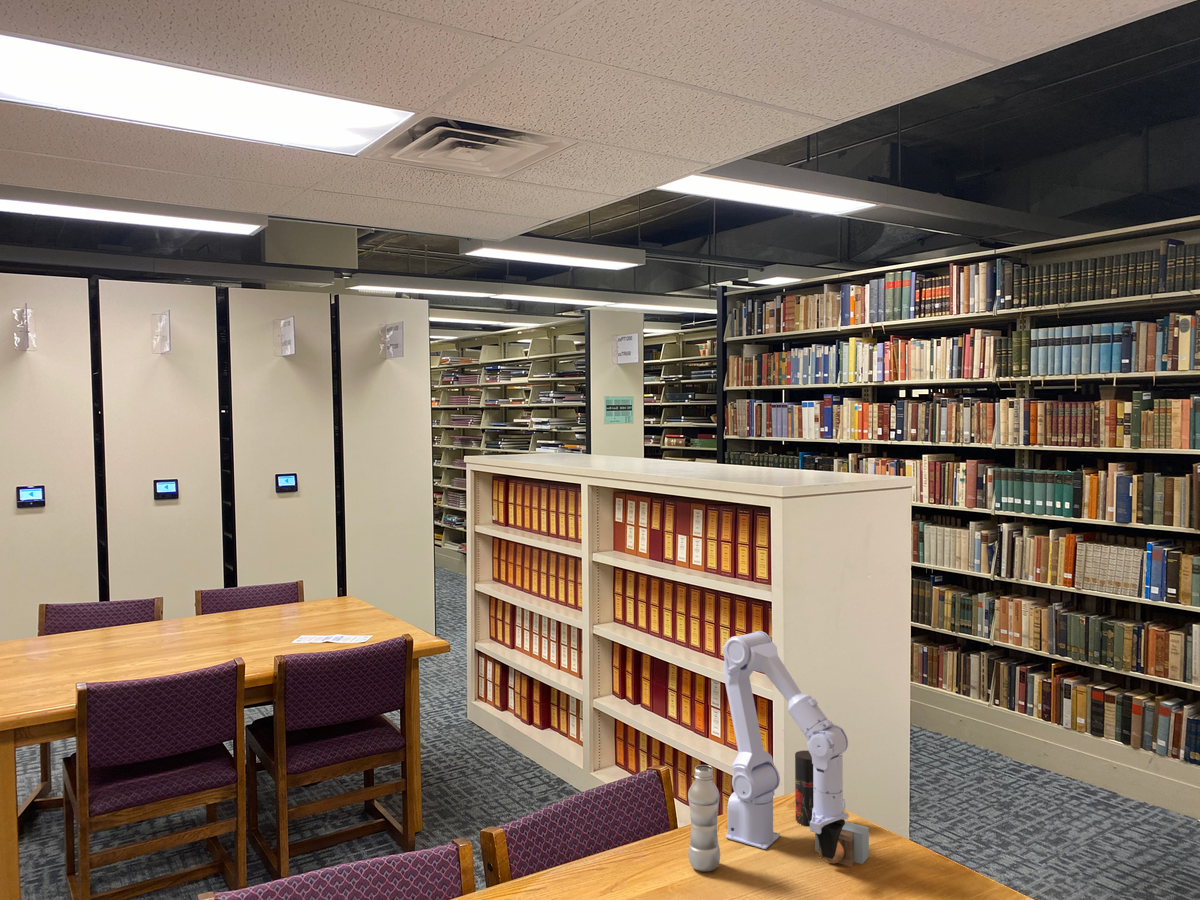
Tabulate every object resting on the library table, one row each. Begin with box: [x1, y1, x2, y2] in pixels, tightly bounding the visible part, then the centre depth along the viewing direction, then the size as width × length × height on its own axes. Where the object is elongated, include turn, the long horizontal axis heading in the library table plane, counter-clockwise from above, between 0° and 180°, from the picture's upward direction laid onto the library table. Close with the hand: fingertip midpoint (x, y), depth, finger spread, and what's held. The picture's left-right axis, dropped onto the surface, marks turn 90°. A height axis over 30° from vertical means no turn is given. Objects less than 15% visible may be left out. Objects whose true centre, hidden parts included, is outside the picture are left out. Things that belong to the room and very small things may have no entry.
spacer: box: [818, 830, 855, 867], centre depth 169 cm, size 7×2×6 cm, turn 54°
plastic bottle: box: [687, 764, 721, 872], centre depth 166 cm, size 6×7×20 cm
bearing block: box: [814, 820, 870, 865], centre depth 172 cm, size 10×4×6 cm, turn 54°
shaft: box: [820, 839, 845, 864], centre depth 171 cm, size 11×5×5 cm, turn 144°
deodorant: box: [794, 749, 814, 827], centre depth 188 cm, size 6×6×15 cm
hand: (828, 856), depth 166 cm, fingers closed
